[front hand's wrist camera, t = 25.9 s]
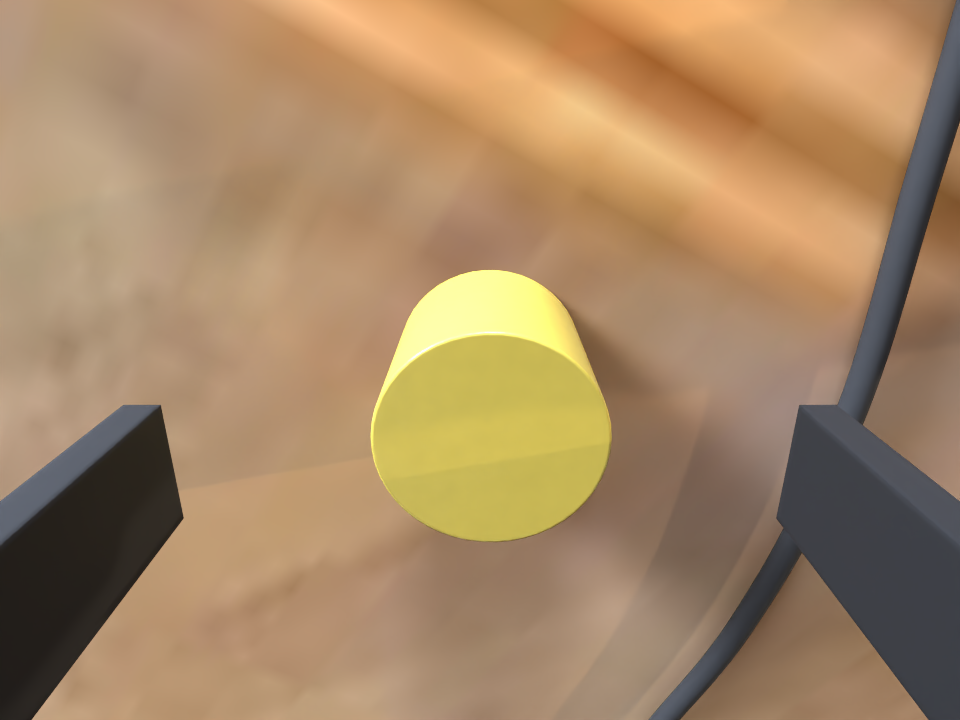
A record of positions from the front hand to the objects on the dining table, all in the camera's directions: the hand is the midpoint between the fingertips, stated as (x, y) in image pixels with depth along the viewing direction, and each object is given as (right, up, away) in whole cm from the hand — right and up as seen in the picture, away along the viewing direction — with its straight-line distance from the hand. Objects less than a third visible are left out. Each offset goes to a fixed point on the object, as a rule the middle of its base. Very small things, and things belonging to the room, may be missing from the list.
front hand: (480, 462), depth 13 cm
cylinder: (0, +2, +4) cm, 5 cm away
